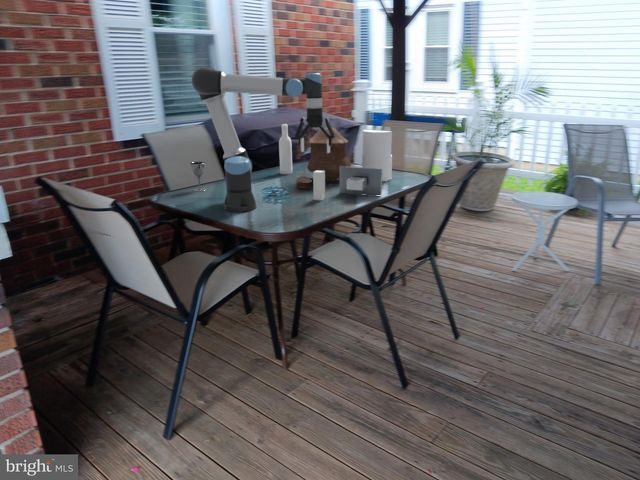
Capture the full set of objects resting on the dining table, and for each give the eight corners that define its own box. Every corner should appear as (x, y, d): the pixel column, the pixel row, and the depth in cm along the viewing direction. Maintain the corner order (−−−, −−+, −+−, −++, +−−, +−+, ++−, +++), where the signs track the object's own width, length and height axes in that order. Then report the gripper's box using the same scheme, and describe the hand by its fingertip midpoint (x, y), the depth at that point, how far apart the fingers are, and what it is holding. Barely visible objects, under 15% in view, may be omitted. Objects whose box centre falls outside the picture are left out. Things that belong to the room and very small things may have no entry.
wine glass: (210, 189, 264) (207, 162, 259) (198, 192, 259) (195, 164, 254) (202, 187, 270) (199, 160, 264) (189, 190, 264) (186, 163, 259)
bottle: (277, 173, 304) (275, 124, 294) (286, 171, 309) (284, 123, 299) (286, 175, 298) (284, 125, 288) (295, 173, 304) (293, 124, 294)
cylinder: (384, 183, 274) (385, 133, 265) (356, 180, 283) (357, 131, 273) (396, 177, 288) (398, 129, 279) (370, 174, 297) (371, 128, 287)
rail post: (322, 200, 240) (321, 172, 236) (313, 199, 242) (313, 172, 237) (325, 198, 244) (324, 170, 240) (316, 197, 246) (316, 170, 241)
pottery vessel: (336, 186, 268) (336, 131, 257) (298, 181, 281) (297, 129, 271) (358, 177, 288) (359, 126, 278) (322, 173, 301) (321, 124, 291)
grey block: (375, 201, 237) (376, 173, 233) (333, 197, 245) (333, 170, 240) (381, 195, 248) (382, 168, 243) (340, 192, 255) (340, 166, 250)
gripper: (341, 107, 230) (342, 151, 237) (293, 106, 237) (294, 150, 245) (337, 108, 223) (337, 154, 230) (287, 107, 231) (289, 152, 238)
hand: (315, 152), depth 237 cm, fingers open, 13 cm apart
